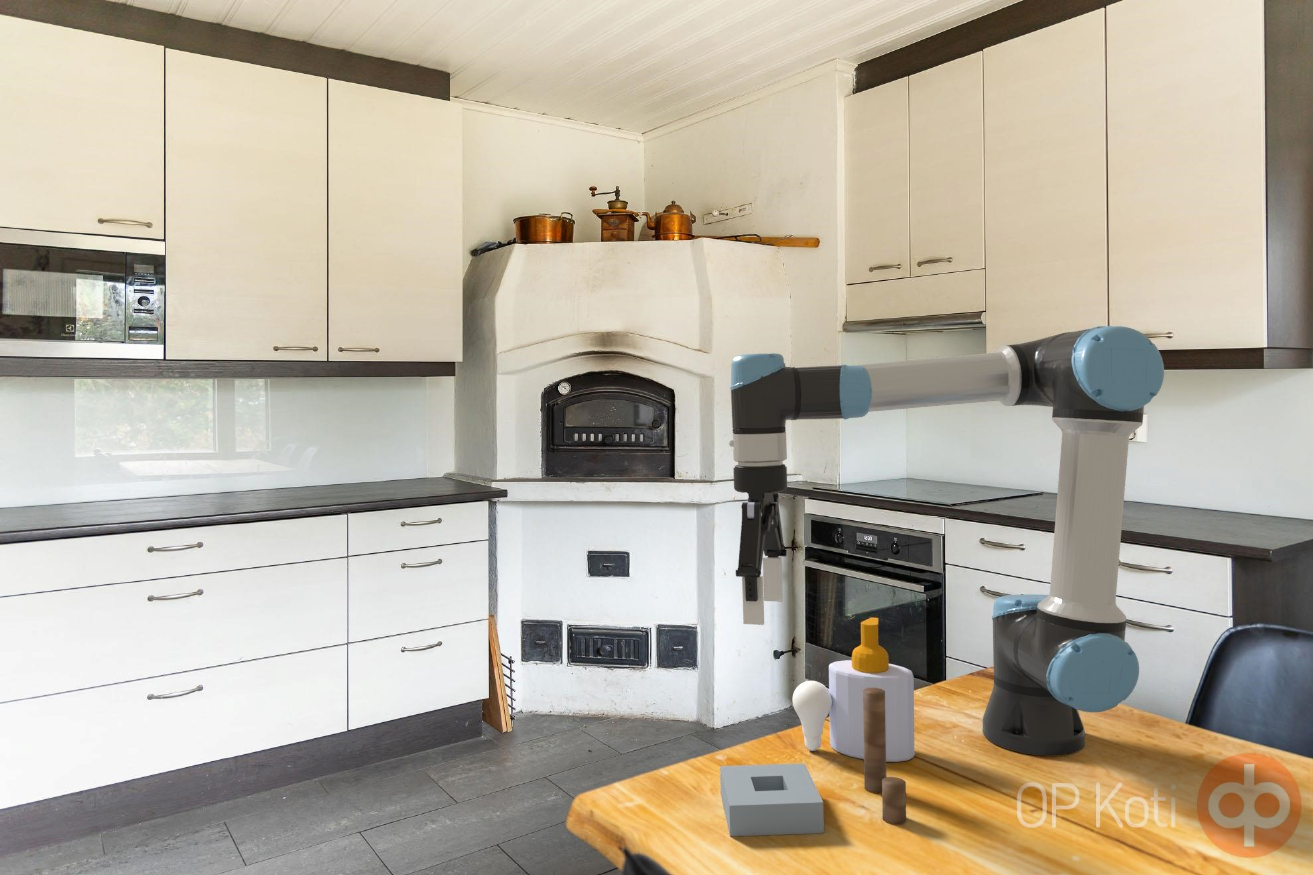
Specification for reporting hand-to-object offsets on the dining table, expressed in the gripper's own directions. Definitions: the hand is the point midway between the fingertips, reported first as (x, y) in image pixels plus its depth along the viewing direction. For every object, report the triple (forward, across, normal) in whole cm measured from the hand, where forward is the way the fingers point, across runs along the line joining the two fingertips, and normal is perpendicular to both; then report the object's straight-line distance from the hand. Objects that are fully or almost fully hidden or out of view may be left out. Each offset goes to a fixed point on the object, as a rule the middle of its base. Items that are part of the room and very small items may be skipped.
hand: (764, 611), depth 124 cm
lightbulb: (+26, -14, +4) cm, 29 cm away
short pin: (+25, +5, +18) cm, 31 cm away
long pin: (+25, -3, +15) cm, 29 cm away
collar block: (+25, +8, +2) cm, 27 cm away
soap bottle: (+26, -16, +13) cm, 33 cm away
